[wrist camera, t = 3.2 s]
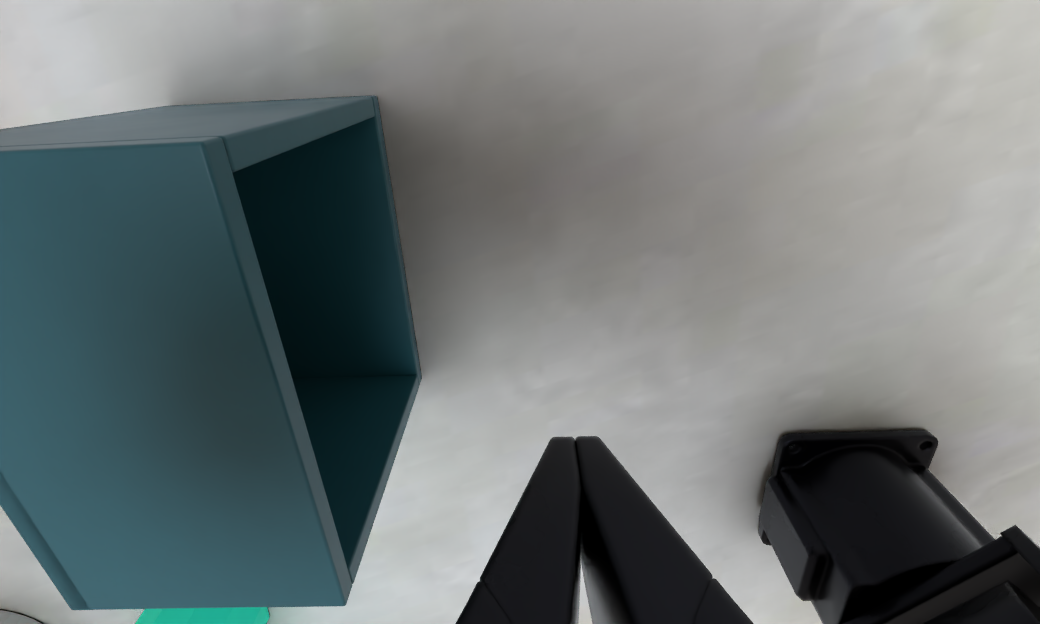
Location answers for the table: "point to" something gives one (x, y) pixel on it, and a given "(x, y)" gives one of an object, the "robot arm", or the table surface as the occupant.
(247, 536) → the open box
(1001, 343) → the table surface
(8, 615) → the coffee cup
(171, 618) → the candle
